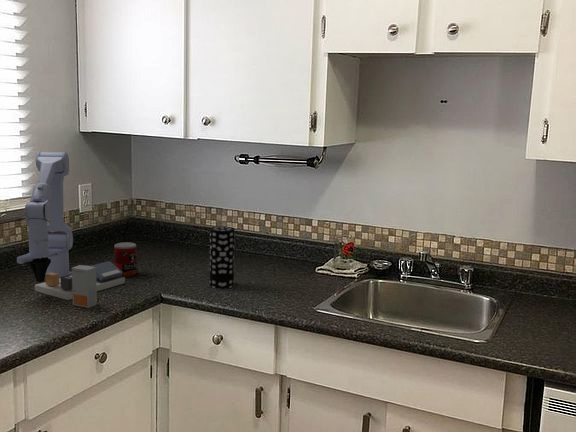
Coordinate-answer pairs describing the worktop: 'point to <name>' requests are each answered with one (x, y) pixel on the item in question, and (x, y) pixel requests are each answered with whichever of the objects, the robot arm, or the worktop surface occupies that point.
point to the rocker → (107, 271)
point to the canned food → (126, 258)
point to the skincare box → (84, 286)
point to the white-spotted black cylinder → (222, 257)
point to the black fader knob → (66, 283)
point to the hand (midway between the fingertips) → (40, 281)
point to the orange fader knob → (52, 279)
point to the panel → (67, 294)
